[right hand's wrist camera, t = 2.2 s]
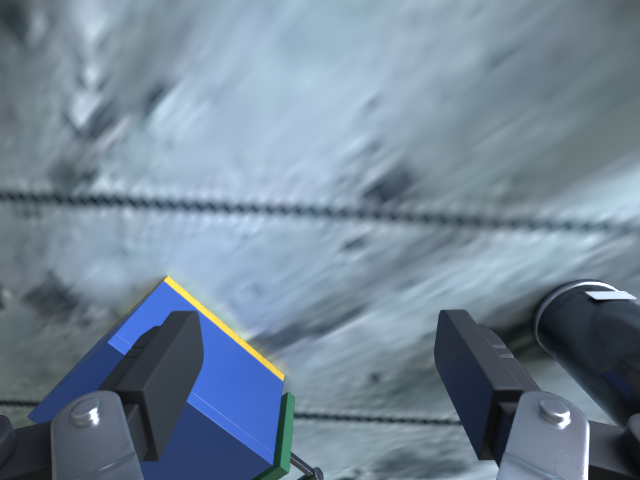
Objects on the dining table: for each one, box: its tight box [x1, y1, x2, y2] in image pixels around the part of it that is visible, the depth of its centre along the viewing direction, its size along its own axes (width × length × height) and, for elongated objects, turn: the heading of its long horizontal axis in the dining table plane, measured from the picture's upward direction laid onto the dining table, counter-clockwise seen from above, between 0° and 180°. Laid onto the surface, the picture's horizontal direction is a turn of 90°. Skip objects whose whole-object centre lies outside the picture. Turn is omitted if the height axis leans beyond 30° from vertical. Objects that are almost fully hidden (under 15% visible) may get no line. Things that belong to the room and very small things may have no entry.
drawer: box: [251, 392, 324, 480], centre depth 36 cm, size 22×10×9 cm, turn 42°
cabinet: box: [27, 276, 284, 480], centre depth 34 cm, size 17×11×11 cm, turn 42°
